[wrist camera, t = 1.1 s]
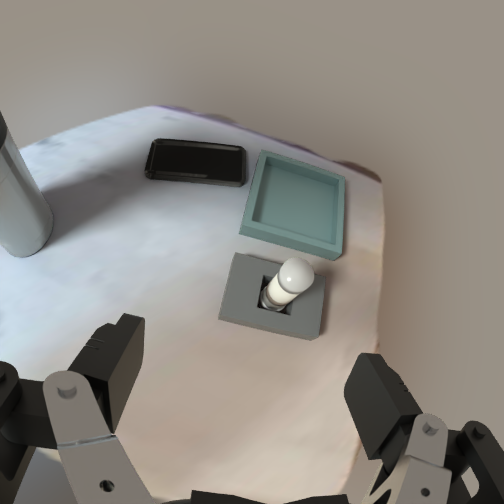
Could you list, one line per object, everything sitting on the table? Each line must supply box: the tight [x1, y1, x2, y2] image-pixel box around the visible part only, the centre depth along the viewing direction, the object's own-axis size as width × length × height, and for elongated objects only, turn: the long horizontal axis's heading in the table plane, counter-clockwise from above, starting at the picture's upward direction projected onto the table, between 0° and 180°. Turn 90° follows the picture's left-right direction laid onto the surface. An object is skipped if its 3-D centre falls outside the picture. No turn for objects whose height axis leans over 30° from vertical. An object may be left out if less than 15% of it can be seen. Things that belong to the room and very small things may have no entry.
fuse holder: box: [218, 252, 326, 341], centre depth 38 cm, size 12×8×2 cm, turn 78°
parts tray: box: [239, 150, 345, 261], centre depth 45 cm, size 14×14×2 cm
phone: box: [145, 138, 246, 187], centre depth 45 cm, size 8×1×15 cm
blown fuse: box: [258, 257, 314, 312], centre depth 35 cm, size 3×3×10 cm
